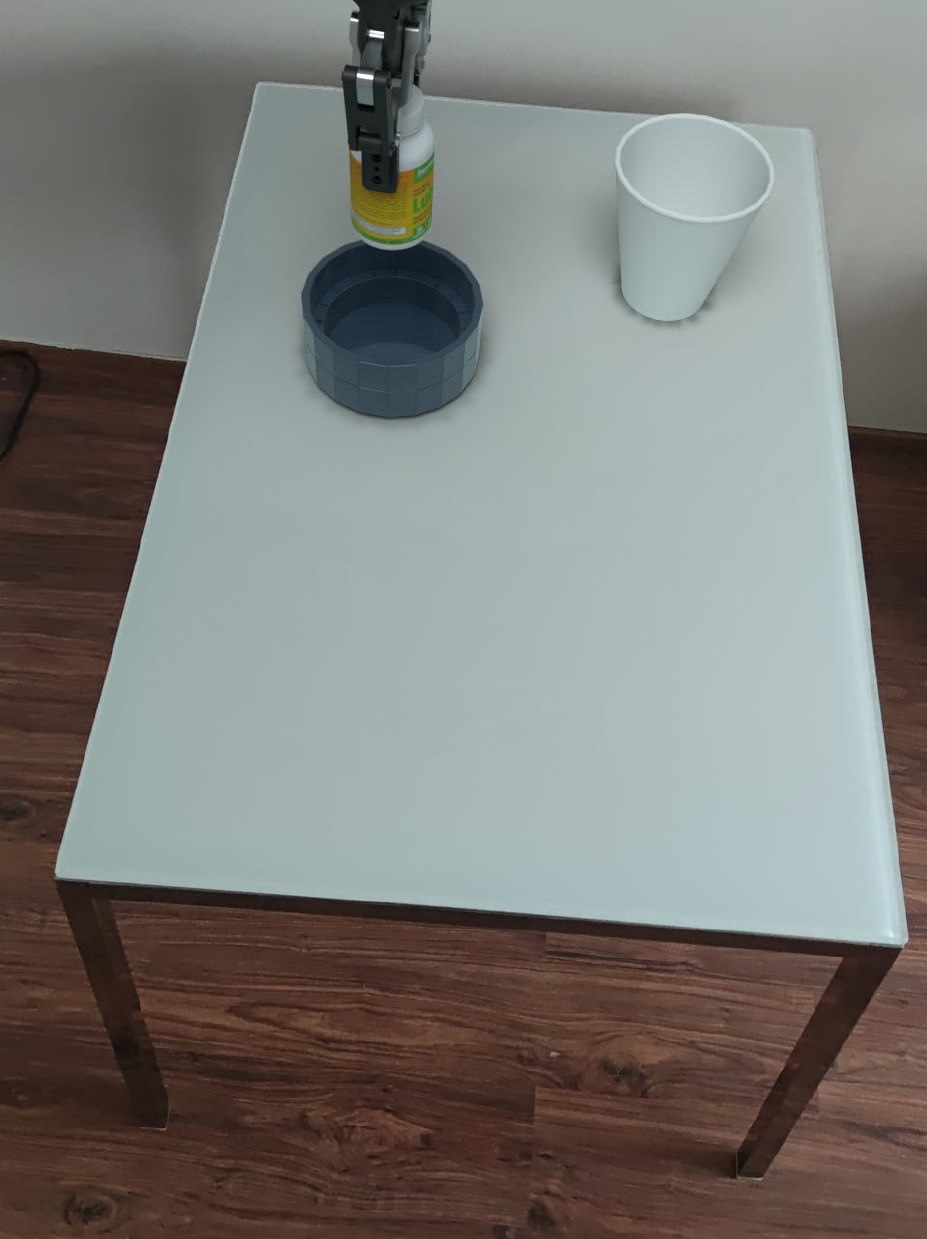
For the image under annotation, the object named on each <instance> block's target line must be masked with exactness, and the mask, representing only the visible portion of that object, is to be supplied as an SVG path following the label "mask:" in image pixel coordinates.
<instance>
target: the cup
mask: <svg viewBox="0 0 927 1239" xmlns="http://www.w3.org/2000/svg"><path fill="white" fill-rule="evenodd" d="M613 162H614V164H613V167H614V170H615V181H616V196H617V197H616V198H617V200H616V201H617V221H618V242H619V244H618V245H619V262H620V285H621V286H620V287H621V292H622V296H623V298H624V300H625V301H626V303H627V305H629V307H630V308H632V309H633V310H634V311H635V312H636V313H639V314H640V315H642V316H644V317H646V318H649V319H652V320H655V321H661V322H662V321H663V322H676V321H680V320H681V321H682V320H685V319H687V318H689V317H691V316H693V315H694V314H696V313H698V311H699V310H700V308H701V307H702V306H703V304H704V302H705V301H706V300H707V298H708V296H709V294H710V293H711V291H712V290H713V288H714V287H715V284H716V283H717V281H718V279H719V278H720V276H721V275H722V273H723V272H724V270H725V268H726V266H727V265H728V263H729V262H730V260H731V258H732V257H733V256H734V254H735V252H736V250H737V249H738V247H739V245H740V244H741V242H742V240H743V238H744V237H745V235H746V234H747V232H748V230H749V229H750V227H751V225H752V224H753V222H754V221H755V219H756V217H757V216H758V214H759V212H760V211H761V208H762V207H763V206H764V204H765V202H767V200H769V198H770V197H771V194H772V192H773V189H774V187H775V185H776V170H775V165H774V163H773V161H772V157H771V156H770V154H769V153H768V151H767V150H766V148H765V147H764V146H763V145H762V144H761V142H760V141H759V140H757V139H756V138H755V137H754V136H753V135H751V134H750V133H749V132H747V131H746V130H744V129H743V128H741V127H739V126H737V125H735V124H732V123H731V122H728V121H726V120H723V119H719V118H716V117H713V116H709V115H705V114H697V113H688V112H685V113H684V112H683V113H682V112H681V113H665V114H662V115H658V116H653V117H650V118H647V119H646V120H643V121H642V122H639V123H638V124H635V125H633V126H632V127H631V128H630V129H628V131H627V132H626V133H624V134H623V135H622V136H621V138H620V140H619V142H618V144H617V146H616V148H615V149H614V161H613Z"/></svg>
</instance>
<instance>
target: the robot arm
mask: <svg viewBox="0 0 927 1239" xmlns="http://www.w3.org/2000/svg"><path fill="white" fill-rule="evenodd" d="M352 1H353V2H354V3H355V4H356V6H357V7H358V9H359V10H357V9H356V10H355V9H353V10H352V11H351V14H350V19H349V33H348V34H349V35H348V40H349V41H348V42H349V43H350V45H351V48H352V56H351V57H352V58H351V64H345V65H344V67H343V70H342V71H341V77H340V79H341V82H342V92H343V103H344V111H345V112H344V113H345V122H346V131H347V145H348V151H349V150H351V151H357V152H358V151H361V161H362V185H363V187H364V188H365V189H367V190H370V191H376V192H382V193H388V194H393V193H395V192H396V190H397V187H398V184H399V141H400V140H401V136H402V132H400V130H401V118H402V107H404V106H405V105H406V104H407V103H408V102H409V100H410V99H411V97H412V89H413V84H414V85H415V86H416V87H418V88H419V89H420V78H421V76H422V74H423V70H425V67H426V61H425V56H426V55H427V50H428V47H429V44H430V43H431V40H432V34H431V18H432V7H433V5H432V2H433V0H352ZM392 79H401V86H400V87H393V81H392Z"/></svg>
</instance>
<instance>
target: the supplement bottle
mask: <svg viewBox="0 0 927 1239" xmlns="http://www.w3.org/2000/svg"><path fill="white" fill-rule="evenodd" d="M392 81H393V87H400V86H401V79H392ZM400 132H402V136H401V140H400V141H399V184H398V187H397V190H396V192H395V193H393V194H388V193H382V192H376V191H370V190H367V189H365V188H364V187H363V185H362V161H361V151H358V152H357V151H351V150H349V149H348V156H349V158H348V159H349V160H348V161H349V187H350V192H349V193H350V218H351V219H350V220H351V225H352V228H353V231H354V233H355V235H356V236H357V237H358V238H359V240H362V241H364V242H365V243H367V244H368V245H370V246H373V247H375V248H379V249H384V250H401V249H406V248H409V247H412V246H415V245H416V244H418V243H420V242H421V241H422V240H423V241H424V239H426V237H427V236H428V234H429V232H430V230H431V227H432V218H433V201H434V200H433V199H434V198H433V197H434V196H433V195H434V175H435V174H434V168H435V146H436V145H435V133H434V131H433V128H432V126H431V124H430V123H429V121H428V120H426V119H425V97H424V93H423V91H422V90H421V89H420V87H419V88H418V87H416V86H415V85H414V84H413V89H412V97H411V99H410V100H409V102H408V103H407V104H406V105H405V106H404V107H402V118H401V130H400Z"/></svg>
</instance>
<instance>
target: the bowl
mask: <svg viewBox="0 0 927 1239" xmlns="http://www.w3.org/2000/svg"><path fill="white" fill-rule="evenodd" d="M481 289H482V288H481V285H480V282H479V281H478V279H477V278H476V277H475V275H474V274H473V272H472V271H471V269H470V268H469V266H468V265H467V264H466V263H465V262H464V261H462V260H461V259H460V258H458V257H457V256H456V255H455V254H453V253H452V252H451V251H449V250H448V249H445V248H444V247H441V246H438V245H436V244H434V243H431V242H429V241H427V240H424V239H423V240H422V241H421V242H420V243H418V244H416V245H415V246H412V247H409V248H406V249H401V250H384V249H379V248H375V247H373V246H370V245H368V244H367V243H365V242H364V241H362V240H361V239H358V240H355V241H352V242H348V243H345V244H343V245H341V246H340V247H338V248H336V249H335V250H333V251H332V252H331V251H330V253H328V254H326V255H324V256H323V257H322V258H321V259H320V260H319V261H318V263H316V265H314V267H312V269H311V270H310V271H309V272H308V274H307V276H306V279H305V282H304V285H303V287H302V290H301V293H300V298H301V311H302V323H303V334H304V345H305V346H304V347H305V357H306V366H307V368H308V370H309V372H310V374H311V376H312V378H313V379H314V381H315V384H316V385H318V387H319V388H320V389H322V390H323V391H324V392H325V393H326V394H327V395H329V397H330V398H332V399H333V400H334V401H336V402H337V403H339V404H341V405H344V406H346V407H348V408H350V409H351V410H355V411H357V412H359V413H360V414H361V413H363V414H366V415H367V414H368V415H373V416H379V417H384V418H385V417H386V418H392V417H393V418H394V417H407V416H408V417H409V416H415V415H416V416H418V415H420V414H423V413H426V412H429V411H433V410H436V409H438V408H441V407H443V406H445V405H446V404H448V402H450V401H451V400H453V399H454V398H456V397H458V396H459V395H460V394H461V393H462V392H463V391H464V390H465V388H466V387H467V385H468V384H469V383H470V381H471V380H472V379H473V377H474V376H475V374H476V370H477V366H478V361H479V357H480V347H481V336H482V324H483V313H484V312H483V311H484V300H483V295H482V290H481Z"/></svg>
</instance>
